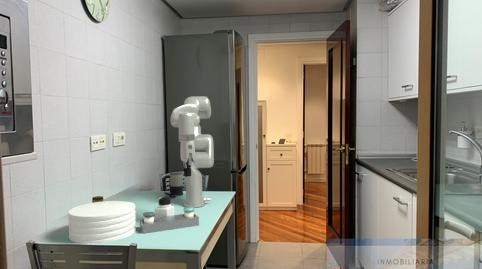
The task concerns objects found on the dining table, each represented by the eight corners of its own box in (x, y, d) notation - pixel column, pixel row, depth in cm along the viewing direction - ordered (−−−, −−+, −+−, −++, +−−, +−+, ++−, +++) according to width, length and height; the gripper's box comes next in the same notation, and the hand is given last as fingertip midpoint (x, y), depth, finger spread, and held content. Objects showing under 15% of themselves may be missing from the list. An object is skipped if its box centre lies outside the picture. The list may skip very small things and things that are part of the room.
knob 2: (192, 220, 171) (192, 206, 171) (195, 223, 167) (195, 208, 166) (182, 222, 169) (182, 207, 169) (185, 224, 164) (185, 210, 164)
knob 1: (153, 226, 163) (153, 211, 163) (156, 229, 158) (155, 213, 158) (142, 227, 161) (142, 212, 161) (144, 230, 156) (144, 215, 156)
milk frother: (181, 192, 242) (181, 171, 242) (187, 197, 228) (186, 174, 227) (161, 194, 237) (160, 173, 236) (165, 199, 222) (165, 176, 221)
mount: (193, 220, 173) (193, 212, 173) (199, 225, 165) (198, 217, 165) (139, 228, 162) (139, 219, 162) (143, 233, 154) (142, 224, 154)
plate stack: (83, 224, 170) (82, 201, 169) (141, 222, 172) (141, 199, 171) (57, 245, 142) (56, 217, 141) (127, 242, 144) (126, 215, 143)
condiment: (88, 220, 176) (88, 197, 176) (104, 216, 183) (103, 194, 182) (95, 223, 172) (95, 199, 171) (111, 219, 178) (111, 196, 178)
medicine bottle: (174, 219, 175) (174, 196, 175) (167, 223, 169) (166, 199, 168) (162, 218, 178) (161, 195, 177) (154, 222, 171) (154, 198, 170)
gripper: (199, 138, 161) (200, 177, 162) (189, 137, 175) (190, 173, 176) (183, 139, 158) (184, 179, 159) (175, 137, 172) (176, 174, 173)
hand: (187, 176), depth 168 cm, fingers closed
